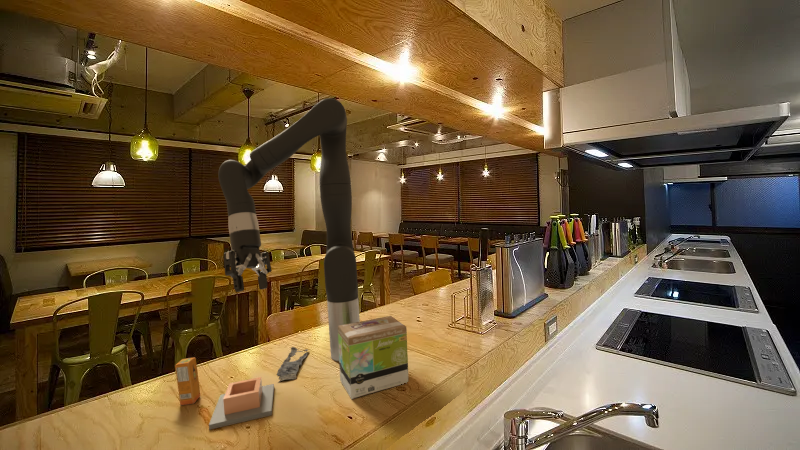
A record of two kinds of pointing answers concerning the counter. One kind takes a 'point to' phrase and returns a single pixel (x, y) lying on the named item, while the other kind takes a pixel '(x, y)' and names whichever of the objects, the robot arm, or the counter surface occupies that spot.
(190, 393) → the supplement box
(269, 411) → the slate board
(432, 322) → the counter surface
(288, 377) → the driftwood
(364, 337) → the tea box
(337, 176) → the robot arm
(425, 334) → the counter surface
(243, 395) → the terracotta holder
